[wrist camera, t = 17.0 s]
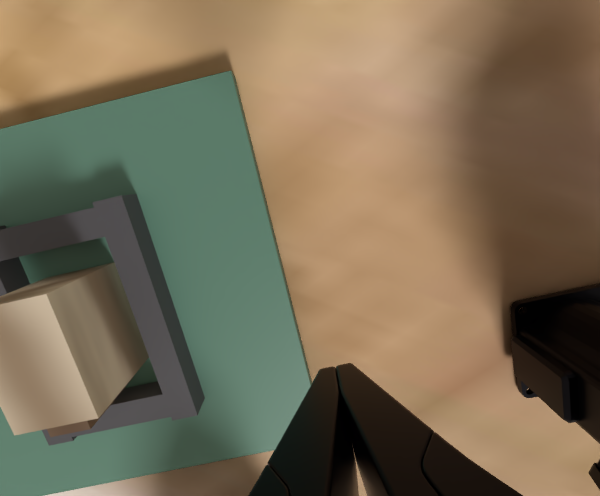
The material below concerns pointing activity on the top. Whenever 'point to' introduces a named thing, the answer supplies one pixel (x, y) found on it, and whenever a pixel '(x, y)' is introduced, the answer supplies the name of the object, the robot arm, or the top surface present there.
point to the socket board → (156, 280)
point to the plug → (66, 350)
